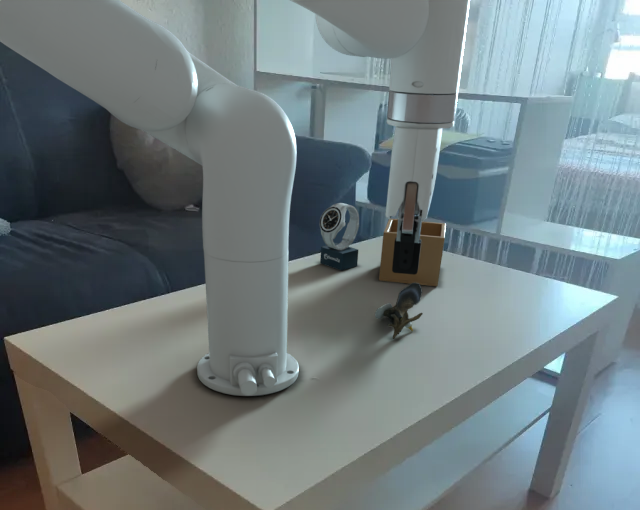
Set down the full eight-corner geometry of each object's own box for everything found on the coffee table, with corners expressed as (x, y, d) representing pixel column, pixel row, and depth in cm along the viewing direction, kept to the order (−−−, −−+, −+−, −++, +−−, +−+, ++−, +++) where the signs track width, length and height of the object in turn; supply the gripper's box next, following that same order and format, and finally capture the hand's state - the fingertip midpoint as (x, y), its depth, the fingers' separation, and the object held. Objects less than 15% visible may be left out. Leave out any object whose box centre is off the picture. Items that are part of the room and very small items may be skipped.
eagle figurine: (434, 335, 89) (432, 302, 96) (412, 296, 85) (411, 264, 92) (386, 355, 92) (387, 322, 99) (363, 319, 89) (365, 286, 95)
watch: (313, 265, 118) (315, 204, 112) (342, 257, 123) (345, 198, 117) (334, 272, 115) (338, 210, 109) (363, 264, 120) (368, 204, 114)
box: (437, 286, 111) (444, 238, 106) (378, 280, 112) (383, 232, 108) (439, 268, 120) (445, 223, 115) (384, 263, 121) (389, 218, 117)
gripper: (393, 103, 77) (381, 252, 87) (380, 115, 64) (368, 288, 74) (455, 106, 76) (436, 257, 86) (455, 119, 63) (432, 294, 73)
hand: (404, 271), depth 80 cm, fingers closed
